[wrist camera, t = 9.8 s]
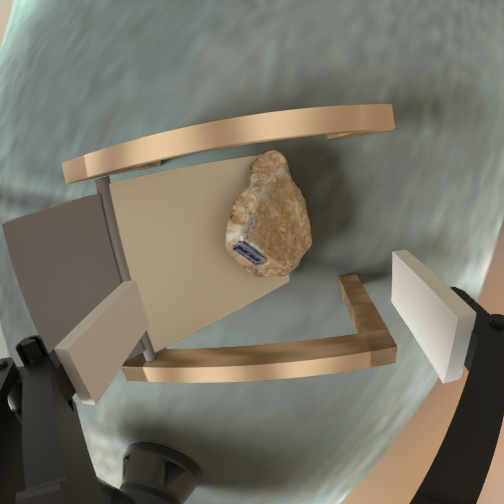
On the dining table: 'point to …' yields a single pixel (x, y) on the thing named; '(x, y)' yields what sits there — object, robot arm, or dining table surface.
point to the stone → (269, 220)
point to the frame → (354, 294)
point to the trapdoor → (138, 253)
